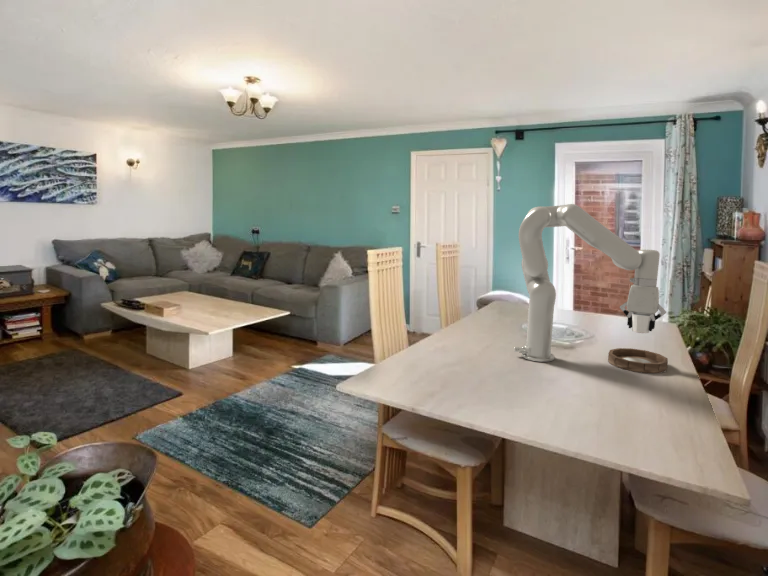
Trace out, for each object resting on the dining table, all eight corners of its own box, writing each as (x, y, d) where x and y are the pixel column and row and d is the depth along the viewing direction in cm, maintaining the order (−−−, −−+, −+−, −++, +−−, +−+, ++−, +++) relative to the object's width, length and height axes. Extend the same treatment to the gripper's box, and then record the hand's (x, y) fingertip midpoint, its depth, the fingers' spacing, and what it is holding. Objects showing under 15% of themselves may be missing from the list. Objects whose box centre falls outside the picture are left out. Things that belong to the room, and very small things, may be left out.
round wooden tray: (623, 372, 167) (624, 363, 167) (599, 356, 187) (599, 347, 186) (678, 373, 167) (679, 364, 166) (648, 356, 187) (649, 348, 186)
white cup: (653, 334, 171) (655, 315, 170) (633, 333, 172) (635, 315, 171) (647, 329, 177) (648, 312, 176) (627, 329, 179) (629, 311, 178)
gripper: (617, 281, 174) (613, 327, 177) (670, 286, 164) (665, 334, 167) (622, 279, 180) (617, 323, 183) (673, 283, 169) (668, 331, 172)
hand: (640, 328), depth 175 cm, fingers closed on white cup, 6 cm apart
